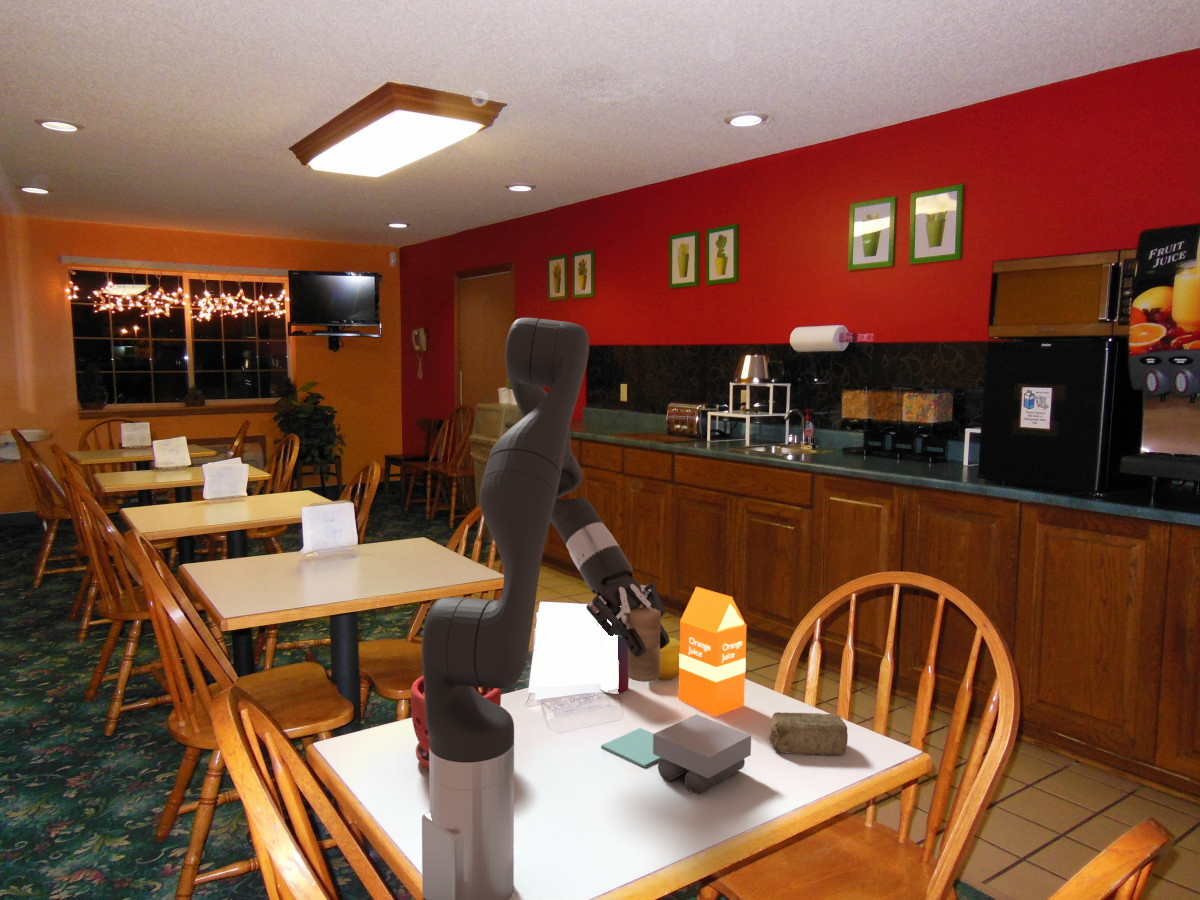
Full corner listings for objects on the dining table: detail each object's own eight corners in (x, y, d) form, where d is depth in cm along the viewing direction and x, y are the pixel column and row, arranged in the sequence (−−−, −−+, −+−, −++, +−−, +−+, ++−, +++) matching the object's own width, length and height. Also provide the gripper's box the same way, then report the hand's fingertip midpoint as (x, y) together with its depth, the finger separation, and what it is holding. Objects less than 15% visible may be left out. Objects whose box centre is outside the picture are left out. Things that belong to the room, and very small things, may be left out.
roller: (644, 684, 123) (646, 619, 122) (621, 675, 127) (622, 611, 126) (665, 676, 127) (667, 612, 126) (642, 667, 130) (643, 605, 129)
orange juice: (707, 689, 152) (710, 583, 150) (744, 705, 145) (748, 593, 143) (677, 700, 147) (680, 590, 145) (714, 716, 140) (717, 601, 138)
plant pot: (392, 769, 120) (392, 689, 119) (447, 734, 132) (447, 661, 131) (467, 790, 114) (467, 706, 113) (517, 751, 126) (517, 675, 125)
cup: (626, 698, 147) (628, 616, 146) (590, 693, 149) (591, 612, 148) (637, 685, 154) (638, 606, 152) (602, 680, 156) (603, 602, 154)
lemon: (678, 669, 162) (679, 629, 161) (697, 683, 155) (698, 641, 154) (627, 676, 158) (628, 635, 157) (645, 691, 151) (646, 648, 150)
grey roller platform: (707, 799, 113) (708, 757, 112) (652, 773, 120) (653, 733, 119) (750, 774, 120) (751, 735, 119) (695, 751, 127) (696, 714, 126)
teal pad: (644, 767, 122) (644, 765, 121) (601, 747, 128) (601, 745, 128) (683, 748, 128) (683, 746, 128) (640, 730, 134) (640, 727, 134)
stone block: (848, 758, 126) (850, 726, 125) (773, 756, 126) (774, 725, 126) (839, 741, 132) (840, 711, 131) (766, 739, 132) (767, 709, 131)
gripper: (577, 551, 125) (635, 648, 118) (641, 537, 135) (697, 626, 128) (554, 578, 129) (607, 674, 122) (617, 563, 139) (670, 651, 132)
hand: (653, 649), depth 125 cm, fingers closed on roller, 4 cm apart
